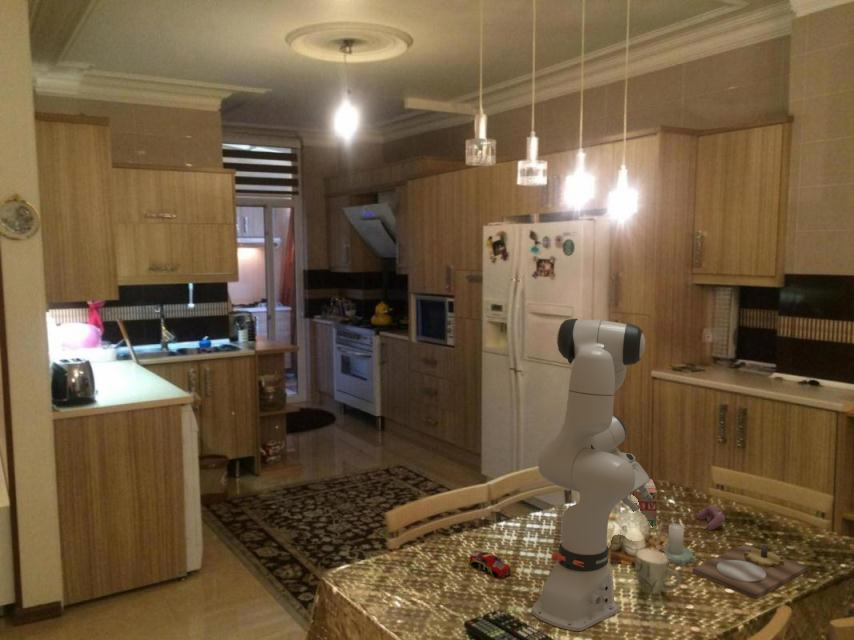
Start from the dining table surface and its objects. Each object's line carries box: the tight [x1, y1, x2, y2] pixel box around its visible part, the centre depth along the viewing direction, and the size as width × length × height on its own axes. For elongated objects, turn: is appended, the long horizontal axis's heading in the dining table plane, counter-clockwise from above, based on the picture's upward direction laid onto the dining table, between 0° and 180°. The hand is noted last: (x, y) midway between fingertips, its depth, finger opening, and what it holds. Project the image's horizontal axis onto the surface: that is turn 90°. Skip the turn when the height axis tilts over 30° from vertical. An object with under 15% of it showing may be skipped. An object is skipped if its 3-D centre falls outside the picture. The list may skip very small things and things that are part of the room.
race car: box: [469, 551, 511, 579], centre depth 193 cm, size 13×5×4 cm, turn 40°
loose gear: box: [662, 523, 696, 567], centre depth 199 cm, size 11×11×9 cm
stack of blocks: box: [630, 478, 658, 527], centre depth 230 cm, size 21×6×12 cm, turn 169°
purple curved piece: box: [696, 504, 726, 531], centre depth 222 cm, size 10×5×7 cm, turn 0°
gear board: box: [691, 544, 809, 600], centre depth 190 cm, size 26×18×5 cm
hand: (643, 505), depth 205 cm, fingers open, 8 cm apart
